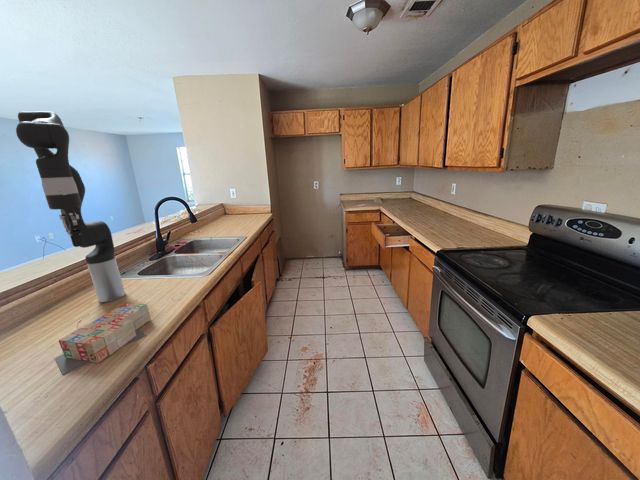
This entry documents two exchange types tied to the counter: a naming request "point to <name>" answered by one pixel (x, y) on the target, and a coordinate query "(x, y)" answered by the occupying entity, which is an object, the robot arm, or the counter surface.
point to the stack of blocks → (105, 333)
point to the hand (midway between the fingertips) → (78, 246)
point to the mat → (72, 364)
